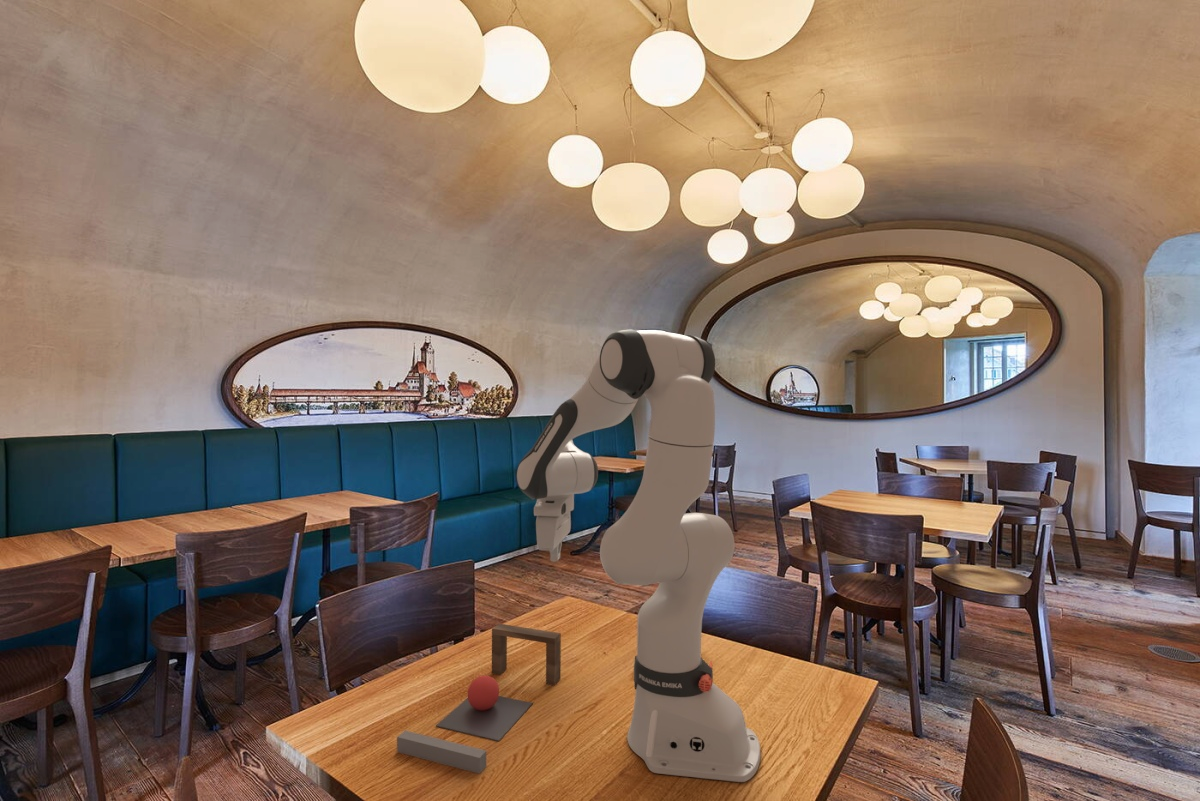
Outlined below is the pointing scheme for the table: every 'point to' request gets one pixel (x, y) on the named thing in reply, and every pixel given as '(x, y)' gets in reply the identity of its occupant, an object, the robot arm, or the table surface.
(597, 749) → the table surface
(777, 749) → the table surface
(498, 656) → the bridge
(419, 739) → the wall
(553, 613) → the table surface
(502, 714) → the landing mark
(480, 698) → the ball
